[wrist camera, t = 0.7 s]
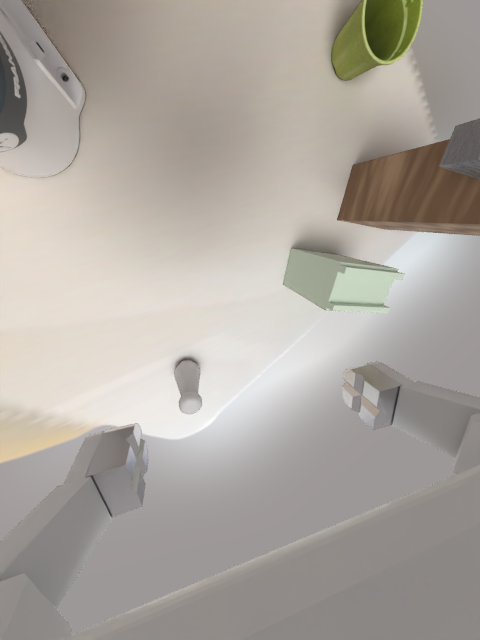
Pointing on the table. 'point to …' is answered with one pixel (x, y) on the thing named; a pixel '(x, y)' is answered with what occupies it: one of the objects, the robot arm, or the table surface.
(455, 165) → the bar
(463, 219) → the walnut stand
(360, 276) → the block
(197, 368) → the salt shaker
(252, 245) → the table surface
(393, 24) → the plant pot
